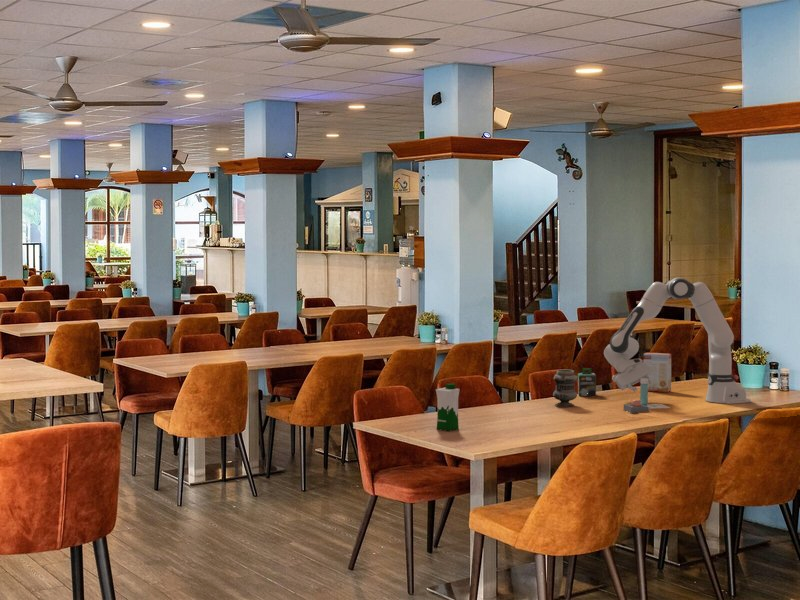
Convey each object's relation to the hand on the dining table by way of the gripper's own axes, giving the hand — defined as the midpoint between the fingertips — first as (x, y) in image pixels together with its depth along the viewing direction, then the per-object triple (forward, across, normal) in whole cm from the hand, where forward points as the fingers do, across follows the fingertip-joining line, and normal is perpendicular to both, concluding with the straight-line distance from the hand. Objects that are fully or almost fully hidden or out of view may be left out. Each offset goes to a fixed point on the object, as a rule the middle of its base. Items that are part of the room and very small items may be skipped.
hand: (643, 386), depth 516 cm
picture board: (+13, -6, -2) cm, 15 cm away
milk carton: (+1, -114, -48) cm, 124 cm away
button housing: (+17, -19, -11) cm, 28 cm away
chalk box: (-24, -16, +23) cm, 37 cm away
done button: (+16, -18, -12) cm, 27 cm away
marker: (+12, -10, -3) cm, 16 cm away
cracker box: (-14, +24, +35) cm, 45 cm away
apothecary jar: (-10, -41, -1) cm, 43 cm away
